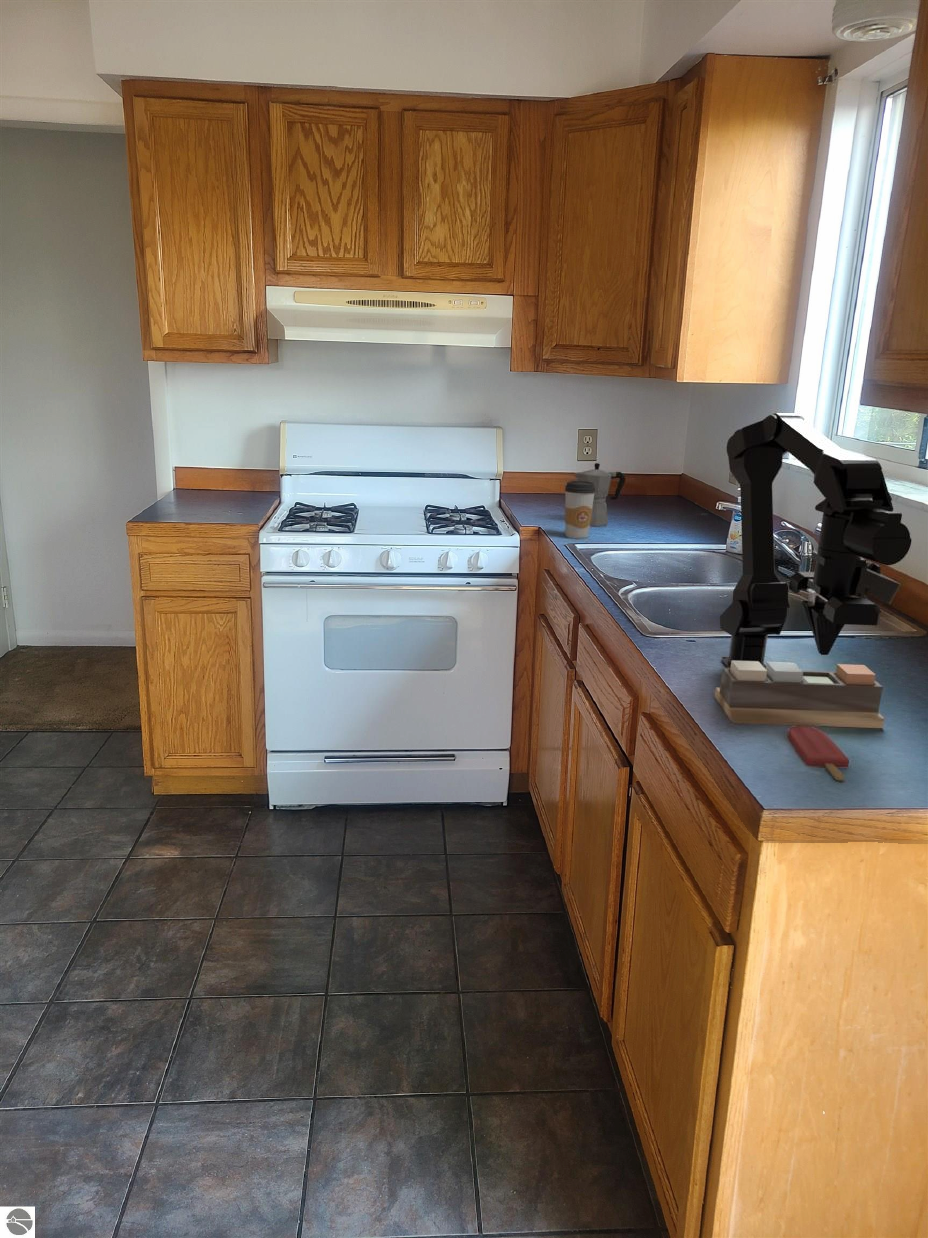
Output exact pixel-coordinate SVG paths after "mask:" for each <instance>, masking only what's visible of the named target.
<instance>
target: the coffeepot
mask: <svg viewBox="0 0 928 1238" xmlns="http://www.w3.org/2000/svg"><path fill="white" fill-rule="evenodd" d="M600 466H601V464H600V463H599V462H595V463H594V469H590V470H584V471H579V472H576V473H574V474H573V476H574V477H575V478H576V479H577V481H588V482H592V483H594V487H595V493H594V499H593V506H592V508H593V509H592V516H591V523H590V527H591V528H592V527H594V528H601V527H605V526H607V525H608V523H609V520H608V519H609V518H608V507H607V502H606V500H607V497H608V495H609V494H608V493H609V491H610V490H609V489H610V485H611V480H613V479H615V480H616V479H619V481H618V483H617V487H616V489H615V492H614V495H613V496H610V500H613V501H614V500H618V499H619V497H620V494H621V492H622V490H623V487H624V484H625V482H626V476H625V475H624V474H623V472H621V471H604V470H602V469H600Z"/></svg>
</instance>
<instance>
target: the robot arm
mask: <svg viewBox="0 0 928 1238" xmlns="http://www.w3.org/2000/svg"><path fill="white" fill-rule="evenodd" d="M726 453H727V457H728V466H729V467H728V468H729V471H730V472H731V474H732V476H733V477H734V479H735V480H736V482H737V483H738V485H739V488H740V520H741V524H740V525H741V553H742V555H741V557H742V558H741V560H742V575H741V576H740V578H739V580H738V581H737V584H736V585H735V587H734V588H733V591H732V602H731V604H730V605H729V606H728V607H727V608H726V609H725V610H724V611H723V613H721V615H720V616H719V624H720V627H719V628H720V629H721V630H722V631H723V632H725V633H727V634H729V635H730V645H729V652H728V656H722V657H721V661H722V662H723V663H724V665H725V666H726V668H731V660H734V661H759V662H760V664H761V665H762V666H763V667H764V668H765V669H766V664H765V658H766V650H767V644H768V636H769V635H774V636H775V635H776V636H779V635H781V632H782V630H783V628H784V625H785V623H786V621H787V617H788V615H789V609H790V603H789V590H790V591H791V592H792V593H793V594H799V593H800V592H801V590H803V591H806V592H808V595H807V597H808V598H807V600H802V601H801V605H802V606H803V608H804V610H805V611H804V612H805V614H806V617H807V619H808V622H809V626H810V629H811V631H812V635H813V638H814V642H815V645H816V647H817V648H816V649H817V651H818V654H820V655H821V656H828V655H829V654H830V652H831V651H832V648H833V646H834V645H835V643H836V640H837V639H838V637H839V635H840V633H841V631H842V630H843V628H844V626H845V625H852V626H853V625H854V626H855V625H856V626H879V625H880V621H881V615H882V610H881V609H880V608H879V606H878V605H877V604H876V603H874V602H873V601H871V600H869V599H868V598H867V597H865V594H867V595H869V596H872V597H875V598H876V599H879V600H881V601H882V602H883V603H885V604H886V605H891V603H892V601H893V599H894V597H895V596H896V594H897V592H898V590H899V589H900V586H901V583H899V582H897V581H895V580H894V579H892V578H890V577H888V576H886V575H885V574H882V573H881V566H880V565H883V566H892V565H893V566H894V565H896V564H897V563H899V562H901V561H902V560H903V559H904V558H906V556H907V554H908V553H909V551H910V548H911V545H912V538H911V533H910V530H909V529H908V527H907V526H906V525H905V524H904V523H902V517H903V514H902V512H899V511H894V506H893V503H892V500H893V498H892V496H891V494H890V492H889V489H888V485H887V482H886V480H885V475H884V473H883V467H882V465H881V464H880V462H879V461H878V460H877V459H875V458H873V457H870V456H869V455H866V454H863V453H860V452H856V451H852V450H846V449H844V448H841V447H839V446H838V445H837V444H836V443H834V442H833V441H832V440H830V439H829V438H827V437H826V436H825V435H824V434H823V433H821V432H820V431H818V430H817V429H815V428H814V427H813V426H812V425H810V424H809V423H808V422H807V421H805V418H804V417H803V416H802V415H799V414H798V413H791V412H789V413H787V412H785V413H783V412H782V413H781V412H777V413H776V412H775V413H772V414H768V415H767V416H766V417H764V418H763V419H762V420H759V421H757V422H753V423H752V424H749V425H746V426H743V427H742V428H741V429H737V430H736V431H734V433H733V434H732V435H731V436H730V437H729V438H728V440H727V443H726ZM788 453H789V454H790V455H791V456H793V457H794V458H795V459H796V460H797V461H799V462H800V463H801V464H803V466H805V467H806V468H807V469H808V470H810V472H812V474H813V484H814V485H815V487H816V488H817V490H818V491H819V492H820V493H821V496H823V497H824V499H823V500H822V501H820V502H819V503H817V504H816V505H815V506H814V509H815V511H816V512H820V513H822V519H821V526H820V533H819V538H818V545H817V551H815V550H812V553H811V560H813V561H815V566H814V571H796V572H795V573H793V574H792V575H791V576H790V579H789V585H788V583H787V582H782V581H781V580H780V579H779V577H778V575H777V574H776V571H775V570H776V569H775V541H774V539H775V538H774V537H775V536H774V535H775V534H774V531H775V530H774V505H773V504H774V501H773V500H774V499H773V497H774V496H773V482H774V481H775V479H776V477H777V476H778V474H779V472H780V470H781V469H782V467H783V458H784V455H786V454H788ZM874 562H875V563H874ZM878 564H880V565H878Z"/></svg>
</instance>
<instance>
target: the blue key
mask: <svg viewBox="0 0 928 1238" xmlns="http://www.w3.org/2000/svg"><path fill="white" fill-rule="evenodd" d="M765 665H766V670H767V674H766V675H767V676H768V677H769V678H770V679H771V680H772V682H800V683H802V677H803V671H802V669H801V668H800V667H799V666H798V665H797V664H796V663H795V662H789V661H787V662H785V661H766V664H765Z"/></svg>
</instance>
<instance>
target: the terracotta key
mask: <svg viewBox="0 0 928 1238" xmlns="http://www.w3.org/2000/svg"><path fill="white" fill-rule="evenodd" d="M835 672H836V673H835V675H836V676H837V677H838V678H839V679H840V680H841V681H842V682H843V683H844V684H857V685H874V681H876V675H877V674H876V673H874V672H873V671H872V670H871V669H870V668H868V666H866V665H865V664H846V663H837V664H836V668H835Z"/></svg>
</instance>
